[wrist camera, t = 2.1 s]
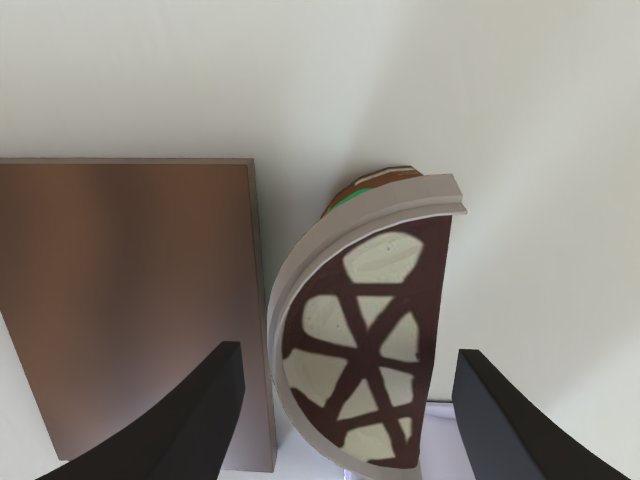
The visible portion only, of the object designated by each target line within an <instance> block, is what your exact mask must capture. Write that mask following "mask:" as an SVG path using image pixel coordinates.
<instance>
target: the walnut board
mask: <svg viewBox="0 0 640 480" xmlns="http://www.w3.org/2000/svg"><path fill="white" fill-rule="evenodd" d="M0 311H1V314H2V316H3V319H4V321H5V324H6V326H7V329H8V331H9V334H10V336H11V339H12V342H13V344H14V347H15V349H16V352H17V354H18V357H19V359H20V362H21V364H22V367H23V369H24V372H25V375H26V377H27V380H28V382H29V385H30V387H31V390H32V392H33V395H34V397H35V400H36V403H37V405H38V408H39V410H40V413H41V415H42V418H43V420H44V423H45V425H46V428H47V431H48V433H49V436H50V438H51V441H52V443H53V446H54V448H55V451H56V453H57V456H58V459H59V460H61V461H72V460H74V459H75V458H77V457H79V456H81V455H82V454H84V453H86V452H87V451H89V450H91V449H92V448H94V447H96V446H97V445H99V444H100V443H102V442H103V441H105V440H106V439H108V438H110V437H111V436H113V435H114V434H116V433H117V432H119V431H120V430H122V429H123V428H125V427H126V426H128V425H129V424H130V423H132V422H133V421H134V420H136V419H137V418H139V417H140V416H141V415H143V414H144V413H145V412H147V411H148V410H149V409H150V408H152V407H153V406H154V405H155V404H156V403H158V402H159V401H160V400H161V399H162V398H163V397H165V396H166V395H167V394H168V393H169V392H170V391H171V390H173V389H174V388H175V387H176V386H177V385H178V384H179V383H180V382H181V381H182V380H183V379H185V378H186V377H187V376H188V375H189V374H190V373H191V372H192V371H193V370H194V369H195V368H196V367H197V366H198V365H199V364H200V363H201V362H202V361H203V360H204V359H205V358H206V357H207V356H208V355H209V354H210V353H211V352H212V351H213V350H214V349H215V348H216V347H217V346H218V345H219V344H220V343H221V342H222V341H240V342H241V351H242V360H243V369H244V378H245V386H246V390H245V394H244V399H243V403H242V407H241V412H240V416H239V419H238V422H237V425H236V428H235V431H234V433H233V436H232V439H231V442H230V445H229V447H228V450H227V453H226V456H225V458H224V461H223V464H222V466H221V469H220V470H235V471H253V472H270V473H273V472H274V468H275V462H276V457H277V448H276V435H275V422H274V410H273V397H272V384H271V372H270V365H269V359H268V347H267V320H266V308H265V295H264V282H263V269H262V257H261V244H260V231H259V218H258V206H257V193H256V180H255V167H254V159H253V158H0Z"/></svg>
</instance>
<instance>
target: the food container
mask: <svg viewBox="0 0 640 480" xmlns="http://www.w3.org/2000/svg"><path fill="white" fill-rule="evenodd" d="M462 196H463V195H462V193H461V191H460V189H459V187H458V185H457V183H456V181H455V179H454V177H453V174H441V175H426V176H424V175H423V174H421V173H420V172H418V171H417V170H416V169H414V168H413V167H412V166H401V167H388V168H385V169H382V170H379V171H376V172H374V173H371V174H368V175H365V176H362V177H360V178H358V179H357V180H355V181H354V182H353V183H351V184H350V185H349V186H347V187H346V188H345V189H343V190H342V191H341V192H339V193H338V194H337V195H336V196H335V198H334V199H333V200H332V202H331V203H330V205H329V206H328V208H327V209H326V210H325V212H324V213H323V215H322V216H321V218H320V220H319V221H318V222H317V223H315V224H314V225H313V226H312V227H311V228H310V229H309V230H308V231H307V232H306V233H305V235H304V236H303V237H302V238H301V239H300V240H299V241H298V242H297V243H296V244H295V246H294V247H293V249H292V250H291V252H290V253H289V255H288V256H287V258H286V259H285V261H284V263H283V264H282V266H281V268H280V270H279V273H278V275H277V277H276V280H275V282H274V285H273V287H272V291H271V296H270V300H269V305H268V313H267V347H268V359H269V365H270V372H271V376H272V379H273V382H274V385H275V387H276V390H277V393H278V395H279V398H280V401H281V404H282V406H283V409H284V410H285V412H286V414H287V415H288V417H289V419H290V421H291V422H292V424H293V425H294V427H295V428H296V429H297V430H298V431H299V433H300V434H301V435H302V436H303V438H304V439H305V440H306V441H307V442H308V443H309V444H310V445H312V446H313V447H314V448H315V449H316V450H317V451H318V452H319V453H321V454H322V455H323V456H325V457H326V458H328V459H329V460H331V461H332V462H334V463H335V464H337V465H338V466H340V467H342V468H344V469H346V470H348V471H350V472H352V473H354V474H356V475H358V476H360V477H363V478H366V479H369V480H423V479H422V473H421V466H420V460H419V455H420V440H421V432H422V426H423V419H424V413H425V407H426V402H427V396H428V391H429V387H430V382H431V377H432V372H433V367H434V359H435V348H436V338H437V328H438V319H439V311H440V302H441V294H442V286H443V279H444V272H445V265H446V258H447V251H448V243H449V236H450V228H451V221H452V215H461V214H467V212H468V211H467V210H466V208H465V207H464V206H463V204H462V203H461V202H462Z"/></svg>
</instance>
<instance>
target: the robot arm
mask: <svg viewBox="0 0 640 480" xmlns="http://www.w3.org/2000/svg"><path fill="white" fill-rule="evenodd" d="M245 390H246V386H245V378H244V369H243V360H242V351H241V342H240V341H222V342H221V343H220V344H219V345H218V346H217V347H216V348H215V349H214V350H213V351H212V352H211V353H210V354H209V355H208V356H207V357H206V358H205V359H204V360H203V361H202V362H201V363H200V364H199V365H198V366H197V367H196V368H195V369H194V370H193V371H192V372H191V373H190V374H189V375H188V376H187V377H186V378H185V379H183V380H182V381H181V382H180V383H179V384H178V385H177V386H176V387H175V388H174V389H173V390H171V391H170V392H169V393H168V394H167V395H166V396H165V397H163V398H162V399H161V400H160V401H159V402H158V403H156V404H155V405H154V406H153V407H152V408H150V409H149V410H148V411H147V412H145V413H144V414H143V415H141V416H140V417H139V418H137V419H136V420H134V421H133V422H132V423H130V424H129V425H128V426H126V427H125V428H123V429H122V430H120V431H119V432H117V433H116V434H114V435H113V436H111V437H110V438H108V439H106V440H105V441H103V442H102V443H100V444H99V445H97V446H96V447H94V448H92V449H91V450H89V451H87V452H86V453H84V454H82V455H81V456H79V457H77V458H75V459H74V460H72V461H70V462H68V463H66V464H64V465H63V466H61V467H59V468H57V469H55V470H53V471H51V472H50V473H48V474H46V475H44V476H42V477H39V478H37V479H35V480H217V477H218V475H219V472H220V469H221V466H222V464H223V461H224V458H225V456H226V453H227V450H228V447H229V445H230V442H231V439H232V436H233V433H234V431H235V428H236V425H237V422H238V419H239V416H240V412H241V407H242V403H243V399H244V394H245ZM452 402H453V403H438V402H426V407H425V413H424V419H423V426H422V432H421V440H420V455H419V460H420V466H421V473H422V479H423V480H631V479H629V478H628V477H626V476H625V475H623V474H622V473H620V472H619V471H617V470H616V469H614V468H613V467H611V466H610V465H608V464H607V463H606V462H604V461H603V460H601V459H600V458H598V457H597V456H596V455H594V454H593V453H591V452H590V451H589V450H587V449H586V448H585V447H584V446H582V445H581V444H580V443H578V442H577V441H576V440H574V439H573V438H572V437H571V436H569V435H568V434H567V433H565V432H564V431H563V430H562V429H561V428H559V427H558V426H557V425H556V424H555V423H553V422H552V421H551V420H550V419H549V418H548V417H547V416H545V415H544V414H543V413H542V412H541V411H540V410H539V409H538V408H536V407H535V406H534V405H533V404H532V403H531V402H530V401H529V400H528V399H527V398H526V397H525V396H524V395H523V394H522V393H521V392H519V391H518V390H517V389H516V388H515V387H514V386H513V385H512V384H511V383H510V382H509V381H508V380H507V379H506V378H505V377H504V376H503V375H502V373H501V372H500V371H499V370H498V369H497V368H496V367H495V366H494V365H493V364H492V363H491V362H490V361H489V360H488V359H487V358H486V357H485V356H484V355H483V354H482V353H481V352H480V351H479V350H473V349H459V353H458V360H457V366H456V372H455V379H454V385H453V391H452ZM344 480H369V479H366V478H363V477H360V476H358V475H356V474H354V473H352V472H350V471H348V470H346V469H344Z"/></svg>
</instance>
